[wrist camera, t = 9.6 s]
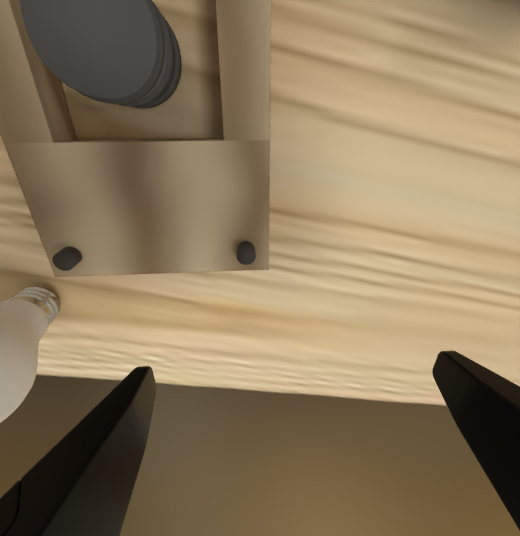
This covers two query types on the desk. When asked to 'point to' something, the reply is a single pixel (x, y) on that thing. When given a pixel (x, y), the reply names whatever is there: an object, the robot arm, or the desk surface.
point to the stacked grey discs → (106, 48)
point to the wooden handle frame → (144, 165)
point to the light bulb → (22, 342)
